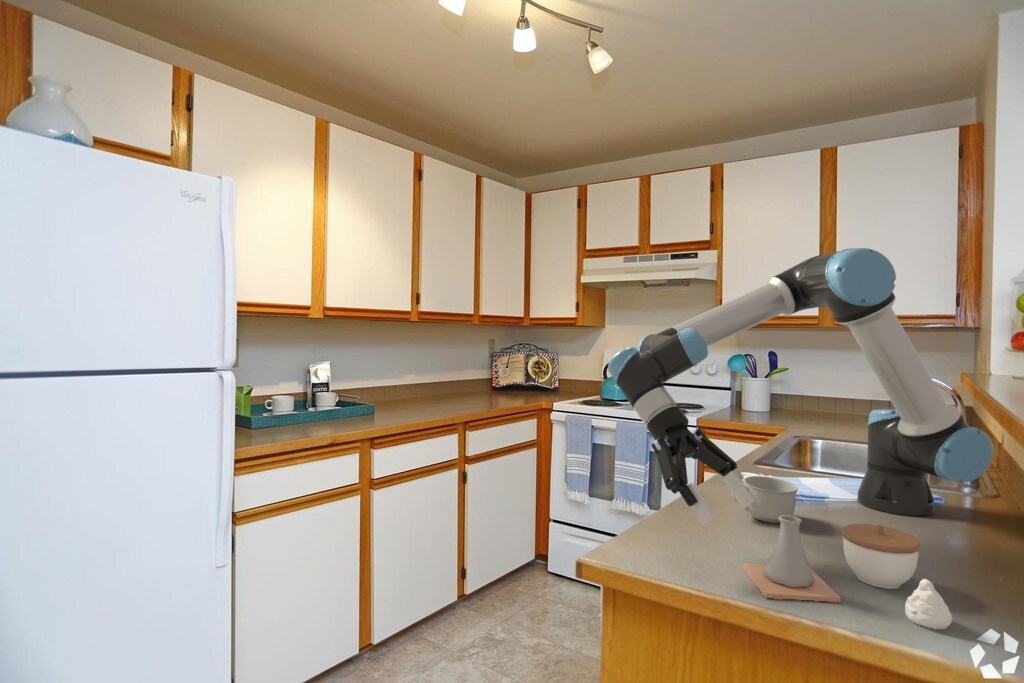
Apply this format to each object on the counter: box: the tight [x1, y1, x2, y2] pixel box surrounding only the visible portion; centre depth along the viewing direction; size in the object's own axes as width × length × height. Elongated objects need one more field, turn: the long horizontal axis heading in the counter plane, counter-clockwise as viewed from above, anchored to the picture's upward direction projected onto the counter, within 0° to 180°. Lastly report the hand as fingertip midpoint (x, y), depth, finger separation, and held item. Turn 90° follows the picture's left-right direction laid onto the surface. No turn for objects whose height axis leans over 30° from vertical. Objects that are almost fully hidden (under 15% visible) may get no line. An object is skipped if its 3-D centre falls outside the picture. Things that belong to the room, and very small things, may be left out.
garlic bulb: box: [904, 578, 953, 630], centre depth 81 cm, size 6×6×5 cm
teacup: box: [730, 475, 798, 524], centre depth 124 cm, size 14×11×8 cm
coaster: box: [742, 563, 841, 603], centre depth 92 cm, size 11×11×1 cm
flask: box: [763, 515, 815, 587], centre depth 92 cm, size 7×7×10 cm
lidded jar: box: [842, 523, 921, 590], centre depth 94 cm, size 11×11×9 cm
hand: (729, 512), depth 100 cm, fingers open, 13 cm apart
